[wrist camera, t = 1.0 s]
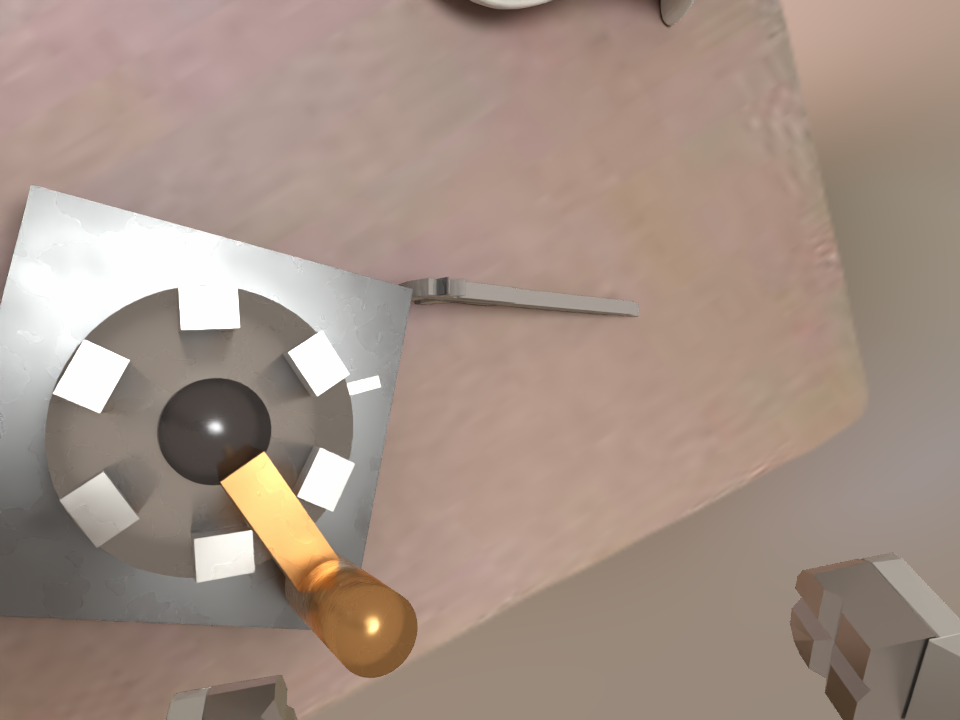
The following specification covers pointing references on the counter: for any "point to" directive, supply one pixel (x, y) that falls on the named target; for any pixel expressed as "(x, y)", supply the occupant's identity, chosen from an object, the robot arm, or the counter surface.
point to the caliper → (513, 297)
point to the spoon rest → (672, 3)
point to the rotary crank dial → (221, 457)
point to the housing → (83, 306)
